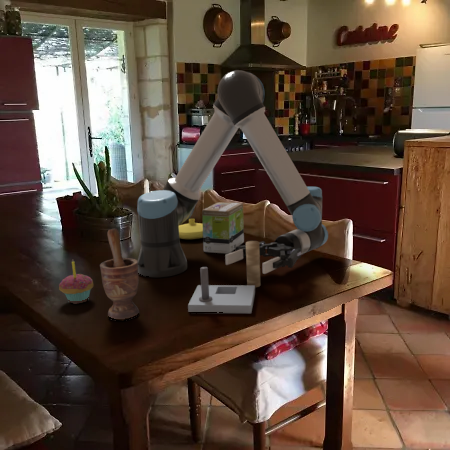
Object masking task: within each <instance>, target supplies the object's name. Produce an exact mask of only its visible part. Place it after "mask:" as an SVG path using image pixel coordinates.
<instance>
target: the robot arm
mask: <svg viewBox="0 0 450 450" xmlns="http://www.w3.org/2000/svg"><path fill="white" fill-rule="evenodd" d="M217 85H218V86H217V98H216V100H215V101H214V102H213V109H214V113H213V115H212V116H211V118H210V119H209V121H208V122H207V124H206V126H205V127H204V130H203V131H202V133H201V134H200V136H199V138H198V139H197V141H196V143H195V144H194V146H193V148H192V149H191V151H190V152H189V154H188V155H187V157H186V159H185V161H184V163H183V164H182V166H181V167H180V169H179V171H178V173H177V174H176V175H175V176H174V177H170V178H169V179H168V180H167V182H165V185H164V187H163V188H162V190H161V189H160V190H151V191H150V192H145V193H144V194H141V195H139V197H138V199H137V205H136V207H137V208H136V211H137V215H138V216H137V217H138V226H139V235H140V236H139V238H140V249H139V255H138V258H137V261H138V273H139V274H138V275H140V274H141V275H140V276H142V275H143V276H142V277H146V276H149V277H148V278H169V277H173V276H176V275H179V274H182V273H184V272H185V271H186V270H187V269H188V261H187V258H186V255H185V253H184V250H183V247H182V246H181V245H182V244H181V242H180V239H181V238H179V225H183V223H185V222H186V221H188V220H189V219H191V216H192V215H193V214H194V211H195V207H196V205H197V204H198V202H199V201H200V199H201V194H200V190H201V188H202V186H203V185H204V184H205V182H206V180H207V179H208V178H209V176H210V174H211V172H212V171H213V169H214V168H215V166H216V164H217V163H218V162H219V160H220V158H221V156H222V155H223V153H224V152H225V150H226V149H227V147H228V145H229V144H230V142H231V140H232V139H233V137H234V136H235V135H236V133H237V131H238V129H240V130H241V132H242V133H243V135H244V137H245V138H246V140H247V142H248V143H249V145H250V146H251V148H252V151H253V152H254V154H255V155H256V157H257V159H258V160H259V162H260V163H261V165H262V167H263V169H264V170H265V172H266V174H267V175H268V177H269V179H270V181H271V182H272V184H273V185H274V187H275V189H276V190H277V192H278V194H279V195H280V196H279V197H280V198H281V199H282V201H283V202H284V204H285V206H286V208H287V209H288V212H290V215H291V216H292V217H291V218H292V222H293V224H294V226H295V227H296V228H297V229H294V230H293V229H292V230H291V231H289V232H286V233H283V234H281V235H279V236H277V237H276V238H275V240H274V241H273V242H270V243H266V242H265V241H264V240H263V241H258V242H259V251H260V257H261V256H262V257H263V258H268V257H272V258H271V259H269V260H266V261H265V262H262V266H261V267H262V270H261V271H262V274H264V275H266V274H268V273H270V272H272V271H274V270H277V269H280V268H281V267H282V268H286V266H287V268H293V267H294V265H296V262H297V260H299V259H301V258H302V255H304V254H305V253H308V252H310V251H313V250H316V249H319V247H321V246H323V245H324V244H325V243H327V241H328V239H329V231H328V229H327V226H325V225H324V224H323V220H322V219H323V218H322V217H323V190H322V188H320V187H318V186H307V185H306V182H305V181H304V179H303V177H302V176H301V175H300V173H299V171H298V169H297V168H296V166H295V164H294V162H293V161H292V159H291V157H290V155H289V154H288V152H287V151H286V149H285V146H284V145H283V144H282V141H281V140H280V139H279V137H278V135H277V133H276V131H275V129H274V128H273V126H272V124H271V122H270V121H269V120H268V118H267V116H266V114H265V110H266V106H265V105H264V101H265V88H264V84H263V83H262V81H261V80H260V78H259V77H257V76H256V75H255V74H254V73H251V72H249V71H245V70H239V69H235V70H232V71H230V72H227V73H226V74H225V75H224V76H223V77H222V78H221V79H220V81H219V83H218V84H217ZM224 257H225V259H224V261H225V265H226V266H229V265H231V264H233V263H236V262H239V261H242V260H243V259H244V258H246V244H245V245H239V246H237V247H236V248H235V251H234V250H233V251H232V252H230V253H229V254H228V253H225V256H224Z"/></svg>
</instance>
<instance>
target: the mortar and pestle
mask: <svg viewBox="0 0 450 450" xmlns="http://www.w3.org/2000/svg"><path fill="white" fill-rule="evenodd" d="M106 234H107V240H108V243H109V248H110V251H111V254H112V258H111V259H107V260H105V261H103V262H101V263H100V264H99V268H100V274H101V282H102V287H103V290H104V292H105V295H106V296H107V298H108V299H109V300H111V301H112V306H110V307H109V309H108V312H107V317H108V316H109V317H111V318H114V319H125V318H130V317H133V316H135V315H137V314H138V313H139V314H140V309H139V308H138V306H137V305H136V304H135V303H134V302H133V298H134V297H135V296H137V295H136V294H137V293H138V289H139V283H140V280H139V279H140V277H139V276H140V275H139V274H138V259H135V258H130V257H129V258H128V257H127V258H126V257H123V255H122V251H121V249H122V248H121V237H120V232H119V229H117V228H111V229H108V231H107V233H106Z"/></svg>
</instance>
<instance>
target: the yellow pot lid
mask: <svg viewBox="0 0 450 450" xmlns="http://www.w3.org/2000/svg"><path fill="white" fill-rule="evenodd" d="M195 221H196V220H195V218H189V219H188V223H184V224H183V223H182V224H180V225H179V238H180V239H182V240H198V239H203V223H200V222H199V223H198V222H195Z"/></svg>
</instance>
